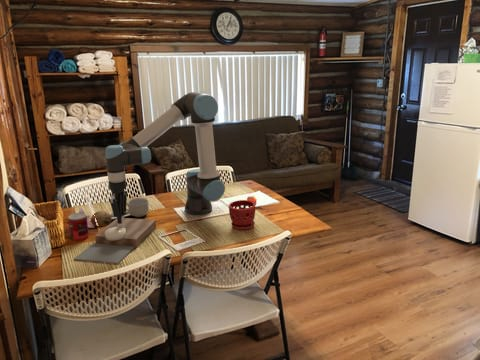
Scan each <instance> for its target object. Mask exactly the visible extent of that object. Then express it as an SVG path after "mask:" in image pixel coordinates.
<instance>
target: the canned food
mask: <svg viewBox="0 0 480 360" xmlns="http://www.w3.org/2000/svg"><path fill="white" fill-rule="evenodd" d="M67 219H68V220H67V221H68V226H69V232H70V233H69V234H70V238H71V240H73V241H75V242H76V241H77V242H78V241H79V242H80V241H84V240H86V239H88V238H89V237H90V236H89V235H90V234H89V227H88V224H87V214H86V213H85V214H84V213H79V212H76V213H70V215H68V216H67Z"/></svg>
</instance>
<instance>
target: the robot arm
mask: <svg viewBox="0 0 480 360" xmlns="http://www.w3.org/2000/svg"><path fill="white" fill-rule="evenodd" d="M218 112H219V105H218V101H217V100H216V98H215V97H214V96H212V95H210V94H208V93H205V92H203V93H202V92H194V91H193V92H192V91H191V92H189V93H185V94H184V95H183V96H181V97H179V98H178V99H177V100H176V101H174V102H173V103H171V105H170V108H169V109H168V110H166V111H165V112H163V114H161V115H159V116H158V117H157V118H156V119H154V120H153V121H151V123H149V124H148V125H147V126H146V127H144V128H143V129H142V130H141V131H139V132H138V133H136V135H134V136H132V138H130V139H129V140H127V141H122V142H121V143H118V144H113V145H108V146H106V147H105V152H104V153H105V162H106V170H107V180H108V184H107V185H108V190H109V191H111V198H110V199H108V202H109V204H110V205H111V211H112V214H113V215H112V216H113V217H114V218H116V219H117V222H118V227H123V228H125V222H124V218H125V216H126V215H127V211H126V208H127V203H128V202H127V199H128V191H127V190H126V188H127V180H126V179H127V178H126V168H125V167H128V166H136V165H144V164H149V163H150V162H151V160H152V153H151V150H150V148H149V147H148V146H149V145H151V144H152V143H153V142H155V141H156V140H157V139H158V138H160V137H161V136H163V134H165V133H166V132H168V130H169V129H171V128H172V127H174V126H175V125H177V124H178V123H179V122H180V121H185V120H186V119H187V118H189V117H190V122H191V124H192V125H193V126H194V130H195V140H196V148H197V158H198V168H195V169H190V170H188V171H187V172H186V174H185V177H186V178H185V179H186V194H187V197H186V198H187V199H186V201H185V205H184V212H185V213H186V214H189V215H194V216H195V215H196V216H199V215H207V214H209V213H211V212H210V211H213V204H212V202H217V201H218V200H220V199H221V198H222V196H224V194H225V193H226V191H225V190H226V186H225V183H224V182H223V181H222V180H221V173H220V172H219V171H218V170H217V161H216V151H215V140H214V139H215V137H214V129H213V128H214V126H213V124H214V123H215V122H216V116H217V114H218Z"/></svg>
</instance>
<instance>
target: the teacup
mask: <svg viewBox="0 0 480 360" xmlns="http://www.w3.org/2000/svg"><path fill="white" fill-rule="evenodd" d="M149 210H150V209H149V199H148V198H144V197H138V198H132V199H130V200H128V202H127V205H126V212H127V213H128V214H129V215H131V216H133V217H134V216H135V217H134V218H142V217H144V216H146V215H147V214H148V213H149Z"/></svg>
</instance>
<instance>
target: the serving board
mask: <svg viewBox="0 0 480 360" xmlns="http://www.w3.org/2000/svg"><path fill="white" fill-rule="evenodd" d="M124 222H125V229H126V236H125V237H124V238H122V239H120V240H114V241H112V240H107V239H106V238H105V231H106V230H107V229H109V228H112V227H118V222H117V218H116V219H114V220H112V221H111V223H109V224H107V226H105V227H104V228H103V229H102V230H100V231H99V232H97V234H96V235H94V239H95V243H99V244H110V245H122V246H134V248H138V247H139V246H140V245H141V244H142V243H143V242H144V241H145V240H146V239H147V238H148V237H149V236H150V235H151V234H152V232H153V231H155V229H157V221H156V219H144V218H143V219H142V218H130V217H128V218H127V217H124Z"/></svg>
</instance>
